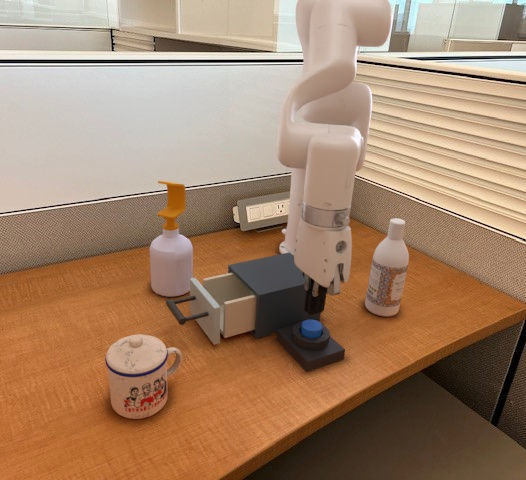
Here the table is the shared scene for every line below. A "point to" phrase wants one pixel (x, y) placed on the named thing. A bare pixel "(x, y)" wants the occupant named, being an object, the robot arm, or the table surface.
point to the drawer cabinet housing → (274, 292)
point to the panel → (310, 347)
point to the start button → (311, 329)
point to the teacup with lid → (139, 375)
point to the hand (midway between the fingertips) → (313, 311)
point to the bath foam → (388, 272)
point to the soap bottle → (171, 249)
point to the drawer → (219, 306)
